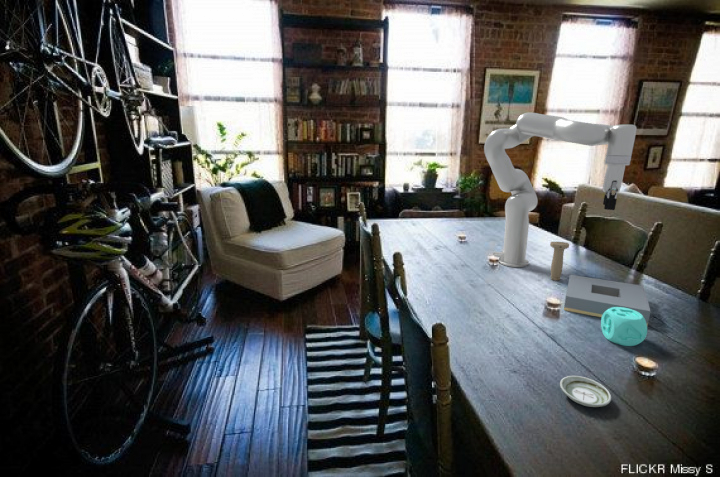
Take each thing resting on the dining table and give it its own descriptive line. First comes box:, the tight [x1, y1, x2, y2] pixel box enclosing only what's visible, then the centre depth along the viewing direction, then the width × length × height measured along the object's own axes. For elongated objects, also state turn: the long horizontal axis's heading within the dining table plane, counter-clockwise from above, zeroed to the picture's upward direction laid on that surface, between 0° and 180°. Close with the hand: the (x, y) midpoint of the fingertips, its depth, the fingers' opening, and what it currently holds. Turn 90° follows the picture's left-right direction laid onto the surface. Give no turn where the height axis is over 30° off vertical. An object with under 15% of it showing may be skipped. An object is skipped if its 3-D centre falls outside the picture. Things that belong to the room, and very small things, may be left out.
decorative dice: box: [600, 307, 648, 347], centre depth 103 cm, size 8×8×8 cm
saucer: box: [559, 375, 612, 408], centre depth 81 cm, size 10×10×2 cm
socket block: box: [563, 274, 651, 327], centre depth 124 cm, size 22×22×5 cm
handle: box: [549, 241, 570, 282], centre depth 145 cm, size 5×6×15 cm
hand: (608, 207), depth 137 cm, fingers open, 9 cm apart
